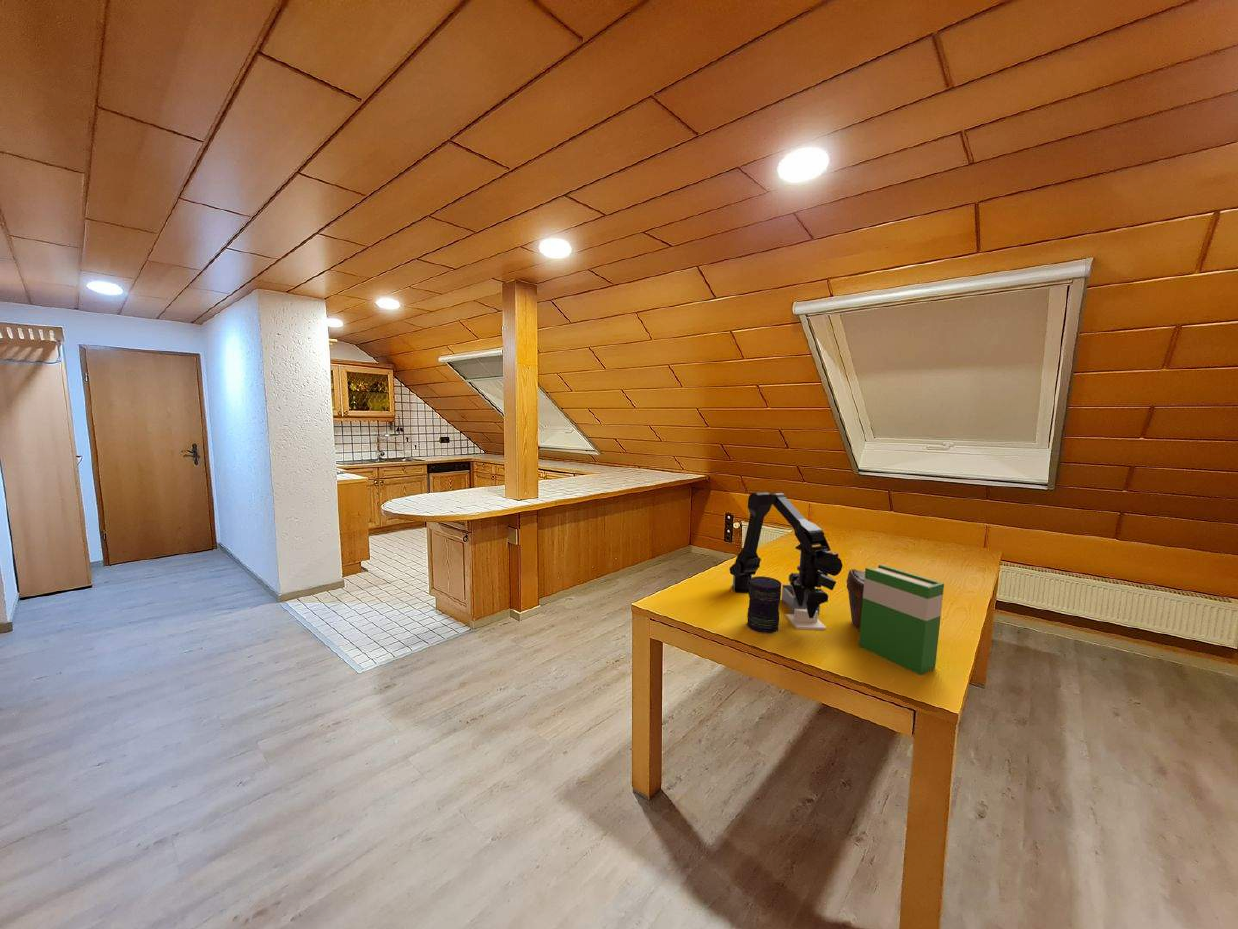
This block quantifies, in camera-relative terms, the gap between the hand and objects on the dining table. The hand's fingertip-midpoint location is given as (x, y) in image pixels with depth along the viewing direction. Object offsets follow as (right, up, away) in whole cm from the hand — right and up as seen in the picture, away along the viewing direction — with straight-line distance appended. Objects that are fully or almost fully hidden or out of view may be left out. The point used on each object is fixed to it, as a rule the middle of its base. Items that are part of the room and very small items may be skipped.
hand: (805, 612), depth 159 cm
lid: (0, -4, 0) cm, 4 cm away
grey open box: (+3, -2, +13) cm, 14 cm away
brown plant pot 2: (+22, -5, -2) cm, 22 cm away
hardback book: (+18, -7, -21) cm, 28 cm away
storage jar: (-15, -4, -3) cm, 16 cm away
